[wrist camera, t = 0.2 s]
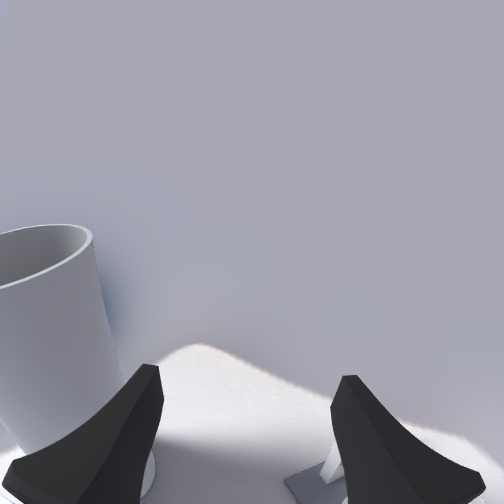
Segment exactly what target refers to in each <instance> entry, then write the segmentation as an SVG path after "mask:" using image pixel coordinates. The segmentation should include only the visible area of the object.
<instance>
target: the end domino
mask: <svg viewBox="0 0 504 504" xmlns="http://www.w3.org/2000/svg"><path fill="white" fill-rule="evenodd" d="M319 475H320V476H321V477H322V479H323V480H324V481H325V483H326V484H329V483H331V482H333V481H335V480H337V479H338V478H340V477H342V476H344V475H345V474H344V469H343V465H342V462H341V458H340V454H339V450H338V446H337V443H336V440H335V442H334V445H333V447H332V449H331V451H330V453H329V455H328V457H327V460H326V462H325V464H324V466H323V468H322V470H321V472H320V474H319Z"/></svg>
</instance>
